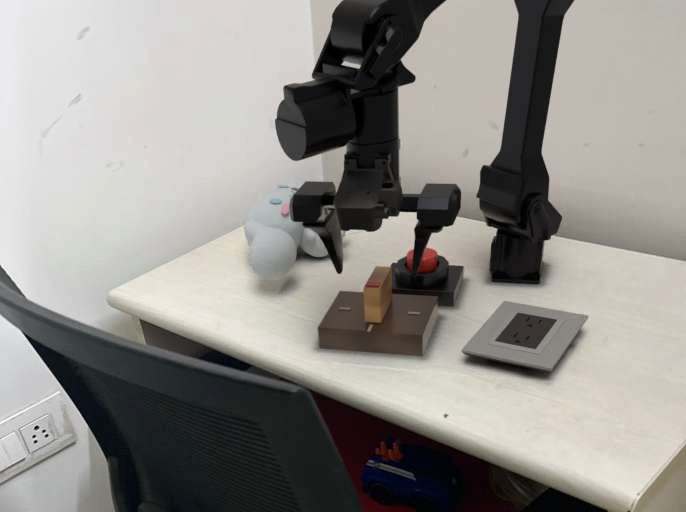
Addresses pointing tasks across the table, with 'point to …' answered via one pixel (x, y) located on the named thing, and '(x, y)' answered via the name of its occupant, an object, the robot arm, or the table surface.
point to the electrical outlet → (525, 336)
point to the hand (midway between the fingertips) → (376, 274)
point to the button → (424, 260)
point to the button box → (429, 281)
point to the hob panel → (379, 325)
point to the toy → (278, 233)
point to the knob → (378, 294)
